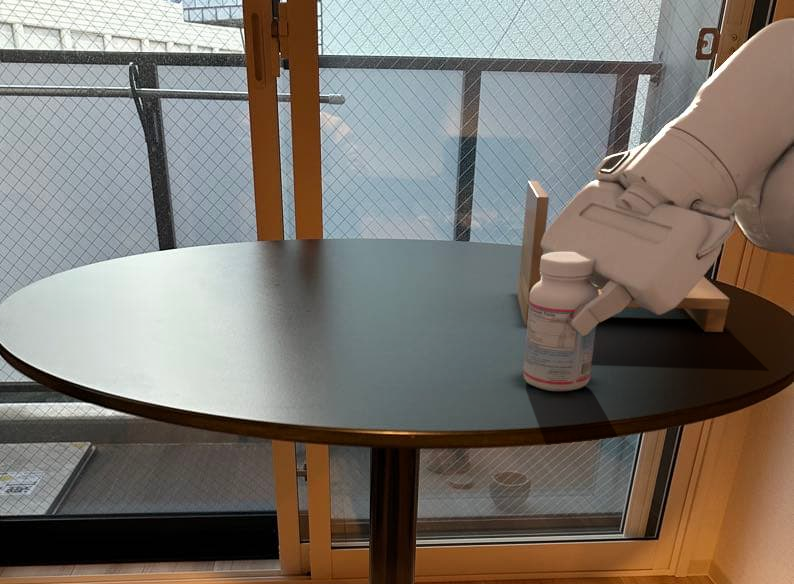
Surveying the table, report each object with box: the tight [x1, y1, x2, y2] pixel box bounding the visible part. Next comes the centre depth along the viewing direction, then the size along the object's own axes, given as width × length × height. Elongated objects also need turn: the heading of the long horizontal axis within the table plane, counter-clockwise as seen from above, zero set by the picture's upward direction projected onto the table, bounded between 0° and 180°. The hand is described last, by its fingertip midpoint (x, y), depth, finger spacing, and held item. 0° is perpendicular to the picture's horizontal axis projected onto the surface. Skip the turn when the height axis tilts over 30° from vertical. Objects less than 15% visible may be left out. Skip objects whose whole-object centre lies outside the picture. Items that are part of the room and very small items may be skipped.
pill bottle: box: [523, 252, 599, 392], centre depth 72 cm, size 6×6×11 cm
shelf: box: [517, 180, 731, 333], centre depth 93 cm, size 22×14×14 cm, turn 86°
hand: (555, 317), depth 72 cm, fingers closed on pill bottle, 6 cm apart
